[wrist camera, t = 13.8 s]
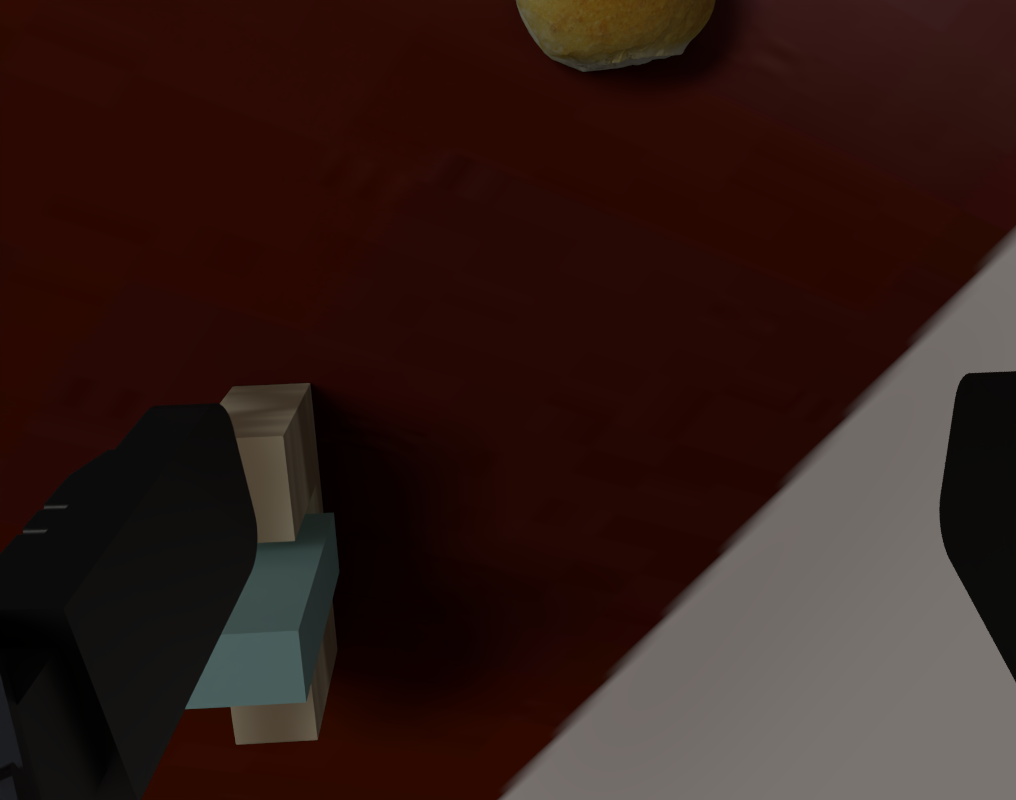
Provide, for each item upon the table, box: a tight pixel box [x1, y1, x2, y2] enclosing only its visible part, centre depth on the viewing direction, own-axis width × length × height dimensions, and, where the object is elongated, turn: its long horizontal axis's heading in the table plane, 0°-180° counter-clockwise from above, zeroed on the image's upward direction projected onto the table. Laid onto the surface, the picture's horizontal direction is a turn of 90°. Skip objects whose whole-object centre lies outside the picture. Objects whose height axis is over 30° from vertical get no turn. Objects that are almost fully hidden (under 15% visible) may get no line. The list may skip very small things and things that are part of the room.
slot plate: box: [220, 383, 337, 744], centre depth 43 cm, size 4×14×7 cm, turn 2°
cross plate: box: [185, 513, 339, 709], centre depth 39 cm, size 5×3×10 cm, turn 92°
